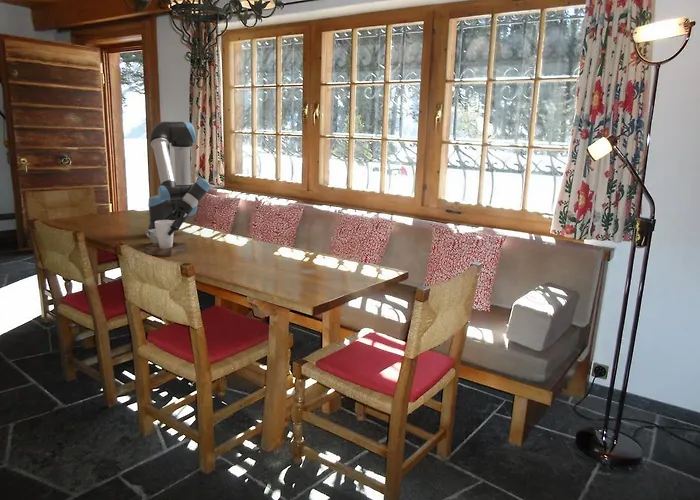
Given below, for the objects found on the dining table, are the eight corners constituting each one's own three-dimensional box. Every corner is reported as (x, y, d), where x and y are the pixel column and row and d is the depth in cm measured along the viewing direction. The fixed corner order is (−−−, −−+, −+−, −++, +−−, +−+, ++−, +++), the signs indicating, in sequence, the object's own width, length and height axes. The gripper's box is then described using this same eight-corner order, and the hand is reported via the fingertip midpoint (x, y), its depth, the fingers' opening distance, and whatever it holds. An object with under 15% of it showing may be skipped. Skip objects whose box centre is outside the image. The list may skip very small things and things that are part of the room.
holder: (145, 254, 269) (144, 247, 268) (161, 247, 282) (161, 241, 282) (171, 256, 265) (170, 249, 265) (186, 249, 279) (186, 243, 278)
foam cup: (164, 249, 267) (162, 223, 264) (152, 247, 272) (150, 221, 269) (179, 246, 275) (178, 221, 272) (167, 243, 280) (165, 219, 277)
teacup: (175, 243, 293) (174, 229, 291) (161, 247, 284) (160, 232, 282) (156, 240, 299) (155, 226, 297) (141, 244, 289) (140, 229, 287)
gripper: (202, 211, 271) (174, 246, 264) (183, 206, 287) (156, 238, 281) (191, 201, 266) (162, 237, 260) (173, 196, 282) (145, 230, 276)
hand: (159, 238), depth 270 cm, fingers closed on foam cup, 9 cm apart
